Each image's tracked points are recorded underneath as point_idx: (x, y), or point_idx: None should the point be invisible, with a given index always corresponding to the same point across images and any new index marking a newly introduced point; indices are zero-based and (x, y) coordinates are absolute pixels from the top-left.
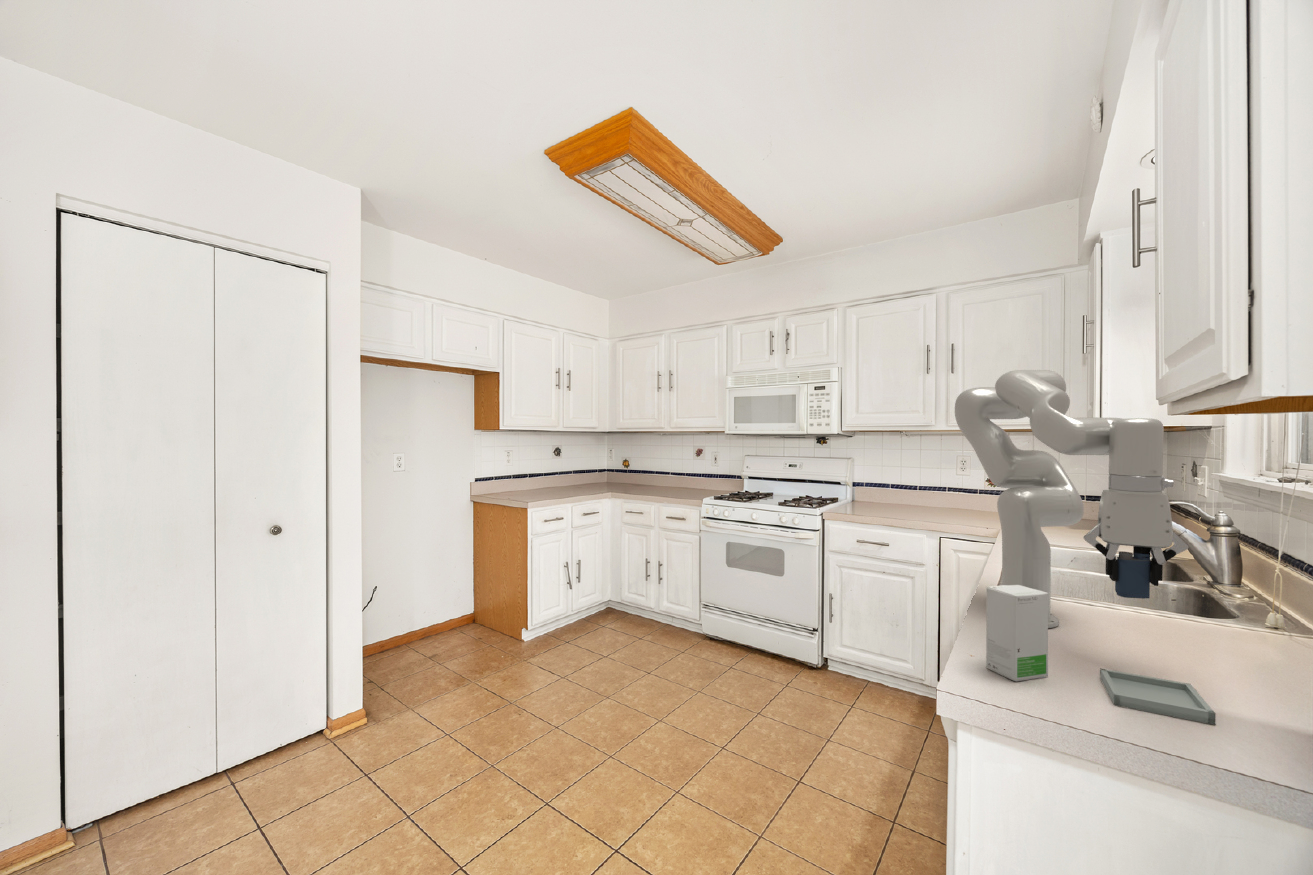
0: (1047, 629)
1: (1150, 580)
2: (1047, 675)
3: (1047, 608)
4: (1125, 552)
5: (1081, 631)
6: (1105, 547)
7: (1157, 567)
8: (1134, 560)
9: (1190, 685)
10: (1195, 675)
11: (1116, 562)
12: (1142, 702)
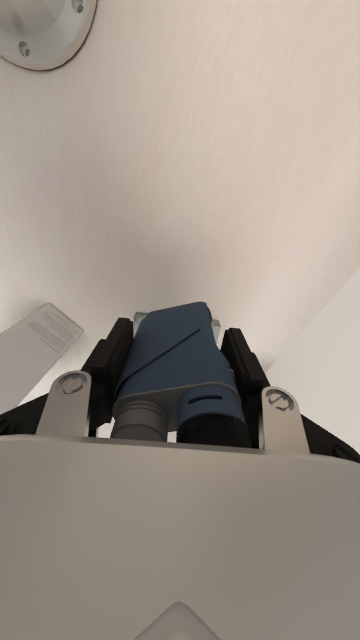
0: (49, 368)
1: (222, 350)
2: (82, 332)
3: (26, 395)
4: (139, 434)
5: (148, 31)
6: (43, 412)
7: None
8: (169, 429)
9: (217, 331)
10: (259, 252)
11: (112, 415)
12: None
